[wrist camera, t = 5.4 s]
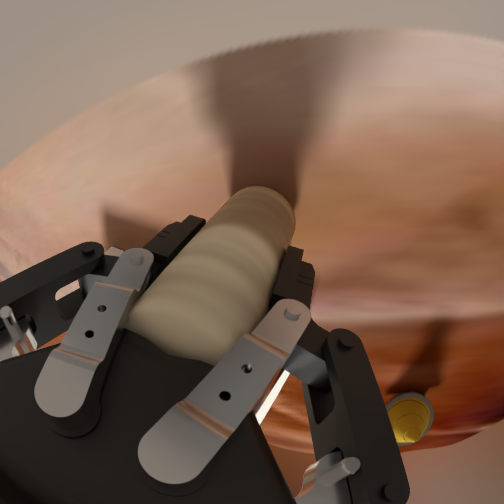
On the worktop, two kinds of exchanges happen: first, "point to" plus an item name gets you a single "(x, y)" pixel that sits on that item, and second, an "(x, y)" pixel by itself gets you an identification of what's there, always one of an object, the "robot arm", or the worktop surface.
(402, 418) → the drill bit
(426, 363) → the worktop surface
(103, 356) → the robot arm
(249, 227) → the wooden peg
